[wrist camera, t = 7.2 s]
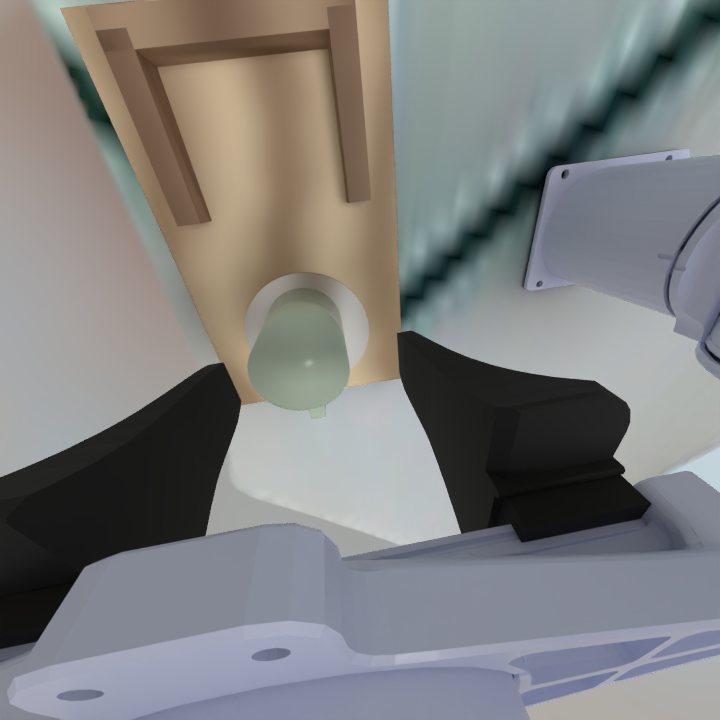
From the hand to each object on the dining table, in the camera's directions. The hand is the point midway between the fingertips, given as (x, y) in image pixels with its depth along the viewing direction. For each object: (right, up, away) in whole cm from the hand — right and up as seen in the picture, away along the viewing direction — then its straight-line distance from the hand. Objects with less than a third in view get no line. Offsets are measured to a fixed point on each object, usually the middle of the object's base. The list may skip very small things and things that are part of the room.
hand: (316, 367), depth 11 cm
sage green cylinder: (-2, +2, +9) cm, 9 cm away
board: (-3, +7, +7) cm, 10 cm away
